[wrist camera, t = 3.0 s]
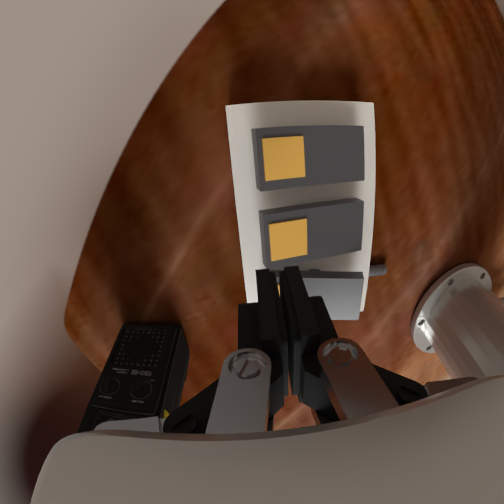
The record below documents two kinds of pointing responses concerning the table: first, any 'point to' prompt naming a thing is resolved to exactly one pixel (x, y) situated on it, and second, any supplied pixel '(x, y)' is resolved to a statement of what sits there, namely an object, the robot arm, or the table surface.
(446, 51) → the table surface
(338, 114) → the rocker switch panel
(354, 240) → the rocker middle
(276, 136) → the rocker far end
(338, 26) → the table surface
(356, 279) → the rocker near arm
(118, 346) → the portable radio
